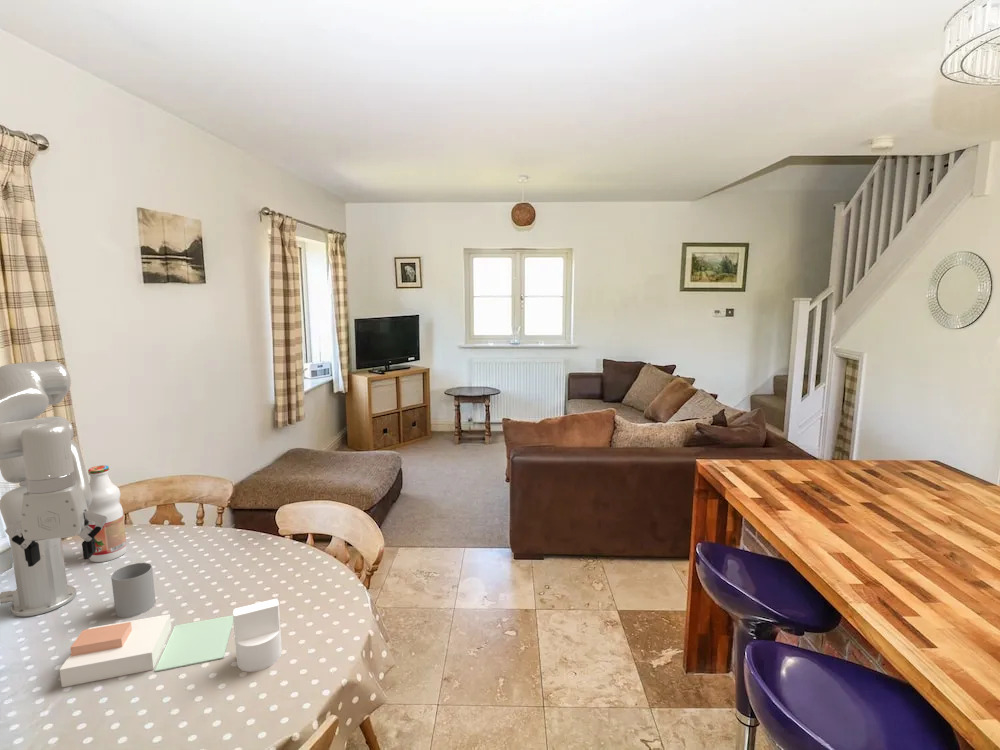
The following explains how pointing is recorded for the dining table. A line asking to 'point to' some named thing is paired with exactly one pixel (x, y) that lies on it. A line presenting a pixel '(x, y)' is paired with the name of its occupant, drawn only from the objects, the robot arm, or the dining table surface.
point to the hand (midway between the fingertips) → (62, 559)
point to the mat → (196, 643)
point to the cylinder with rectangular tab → (257, 635)
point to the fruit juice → (106, 504)
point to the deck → (120, 654)
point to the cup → (133, 590)
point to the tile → (101, 638)
